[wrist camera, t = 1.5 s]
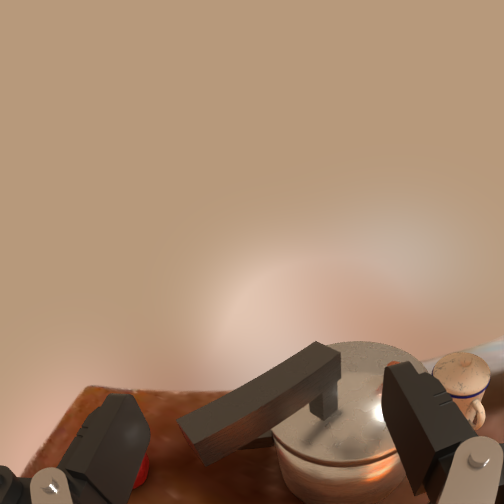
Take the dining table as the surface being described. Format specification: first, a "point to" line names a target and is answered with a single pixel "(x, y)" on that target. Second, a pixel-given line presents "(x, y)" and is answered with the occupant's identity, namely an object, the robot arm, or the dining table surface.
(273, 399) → the cooker lid
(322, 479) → the cooker pot
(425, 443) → the robot arm
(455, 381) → the teacup with lid
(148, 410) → the dining table surface
